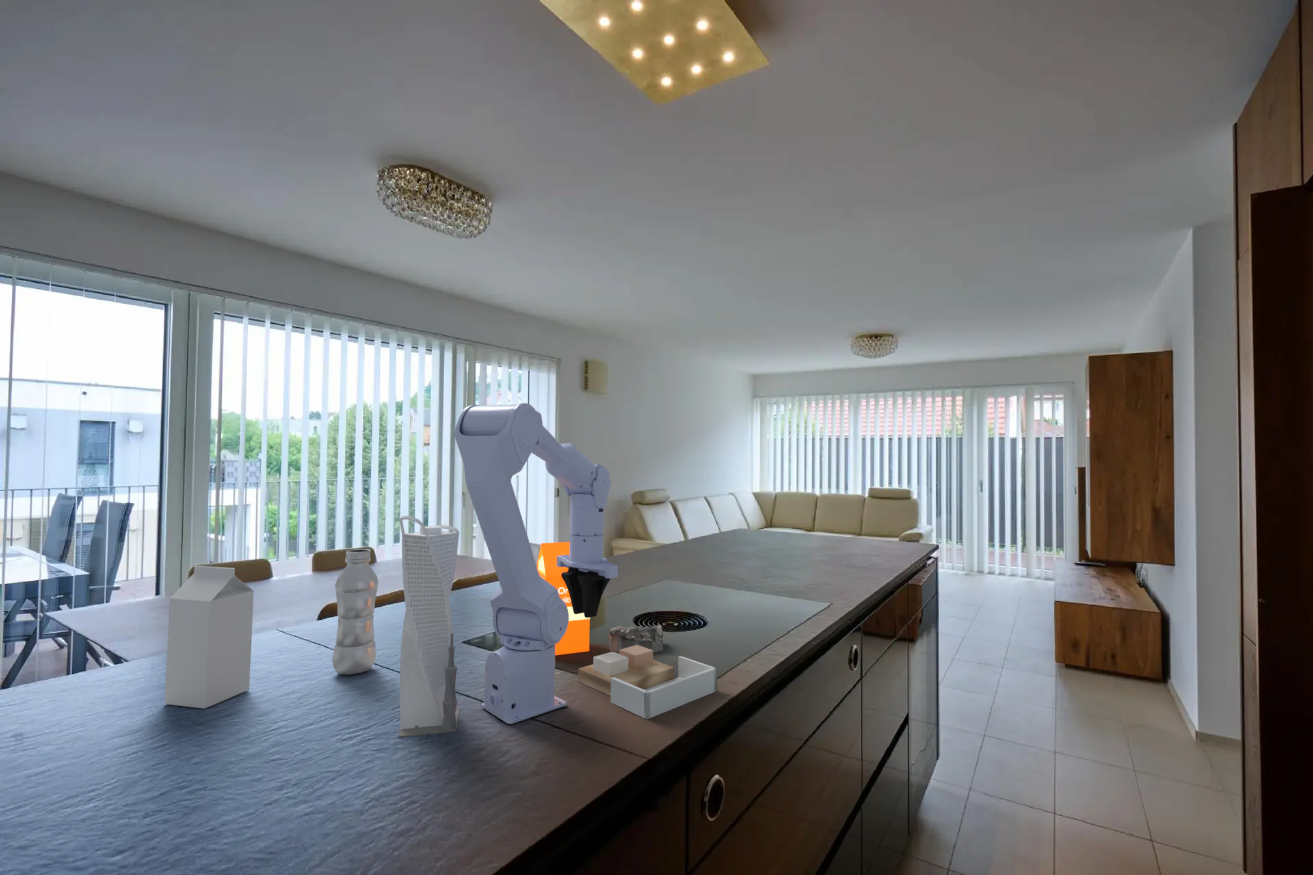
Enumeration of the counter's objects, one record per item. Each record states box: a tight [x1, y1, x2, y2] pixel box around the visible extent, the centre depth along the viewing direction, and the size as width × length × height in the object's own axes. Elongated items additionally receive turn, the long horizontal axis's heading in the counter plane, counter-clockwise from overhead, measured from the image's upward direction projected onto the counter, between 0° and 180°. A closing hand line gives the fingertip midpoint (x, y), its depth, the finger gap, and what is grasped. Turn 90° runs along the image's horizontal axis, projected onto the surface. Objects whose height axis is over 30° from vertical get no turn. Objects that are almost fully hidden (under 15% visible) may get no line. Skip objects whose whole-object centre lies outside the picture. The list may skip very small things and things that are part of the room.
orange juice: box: [536, 541, 591, 656], centre depth 112 cm, size 8×9×20 cm
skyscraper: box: [397, 515, 460, 738], centre depth 80 cm, size 8×8×28 cm
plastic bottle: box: [331, 548, 379, 675], centre depth 97 cm, size 6×7×20 cm
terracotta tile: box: [618, 645, 654, 668], centre depth 98 cm, size 4×4×2 cm
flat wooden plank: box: [577, 659, 675, 697], centre depth 95 cm, size 12×10×2 cm
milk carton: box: [164, 565, 255, 709], centre depth 86 cm, size 7×7×19 cm
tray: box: [610, 655, 718, 720], centre depth 89 cm, size 15×8×4 cm, turn 134°
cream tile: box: [592, 651, 628, 676], centre depth 94 cm, size 4×4×2 cm
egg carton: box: [607, 624, 665, 654], centre depth 113 cm, size 11×8×4 cm
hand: (585, 614), depth 99 cm, fingers open, 2 cm apart
